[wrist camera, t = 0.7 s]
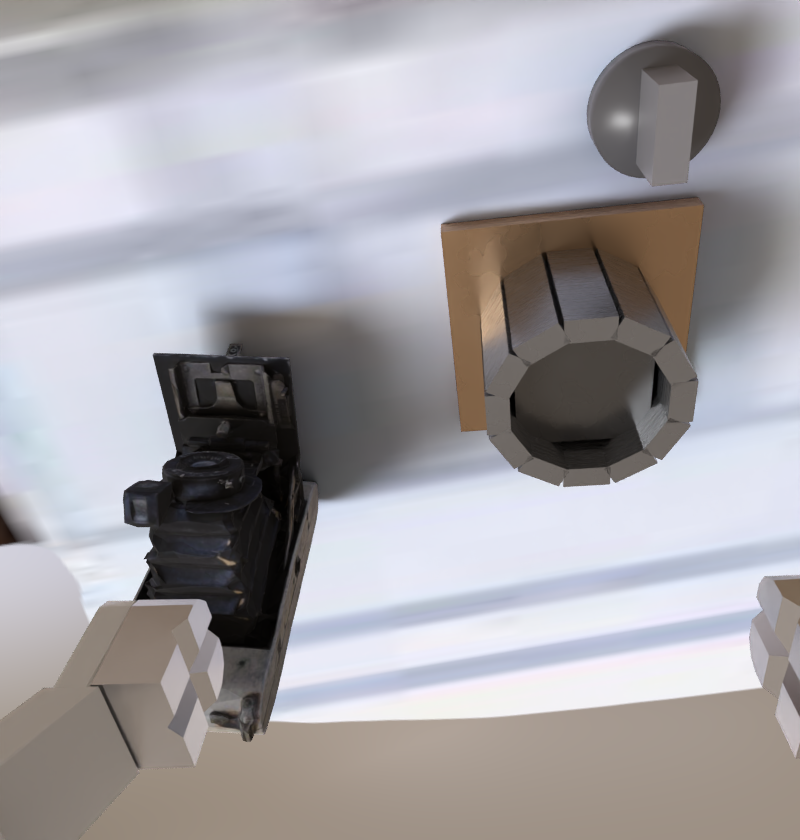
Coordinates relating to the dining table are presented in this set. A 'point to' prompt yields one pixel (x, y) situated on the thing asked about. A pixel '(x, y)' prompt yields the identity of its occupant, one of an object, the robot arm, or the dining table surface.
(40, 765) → the robot arm
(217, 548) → the vintage camera
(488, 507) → the dining table surface
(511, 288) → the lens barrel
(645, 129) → the rotary knob
